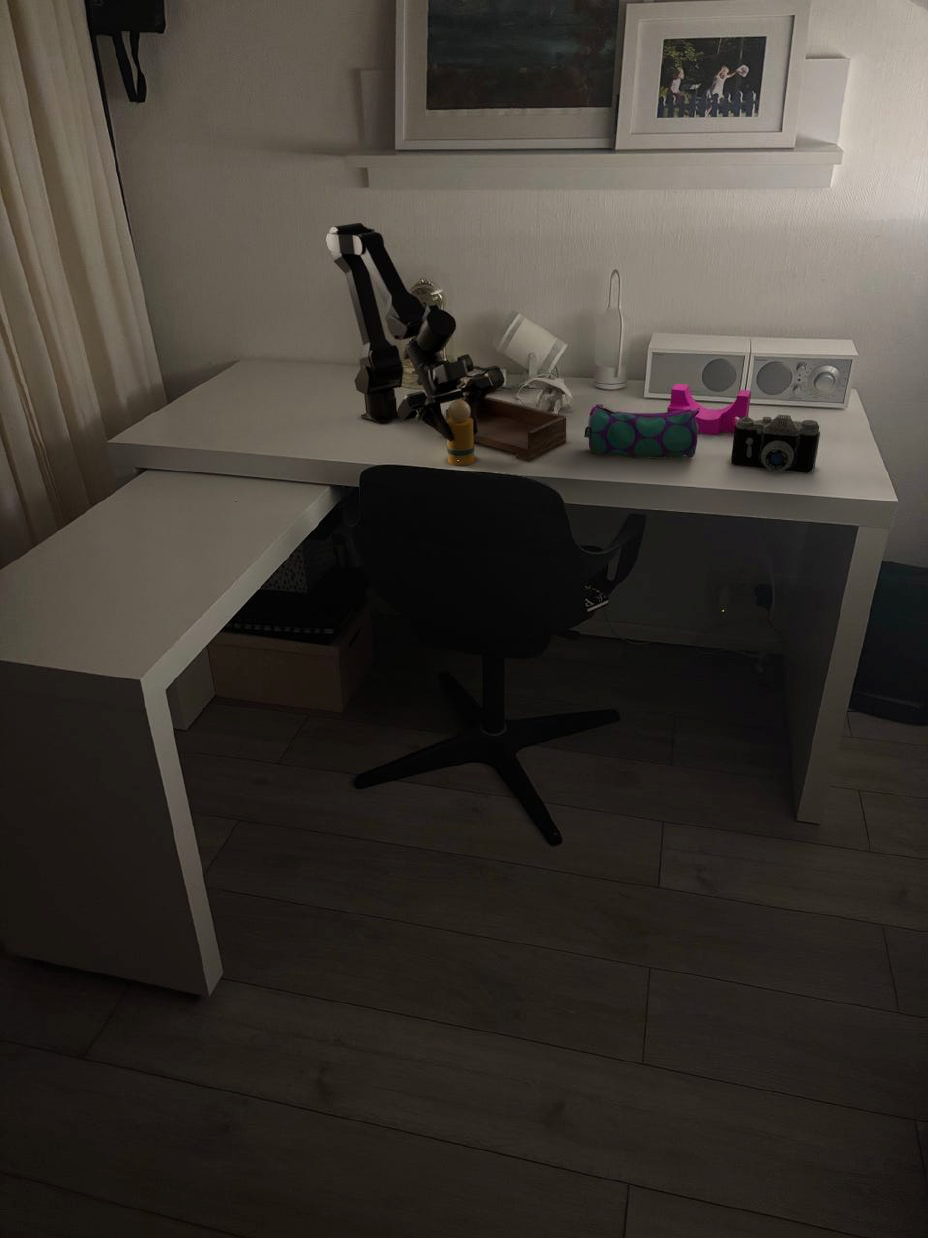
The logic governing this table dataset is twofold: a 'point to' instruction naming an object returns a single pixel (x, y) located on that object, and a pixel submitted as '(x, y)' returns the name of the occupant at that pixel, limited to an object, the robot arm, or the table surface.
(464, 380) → the toy figure
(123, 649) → the table surface
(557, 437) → the wooden desk tray
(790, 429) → the camera
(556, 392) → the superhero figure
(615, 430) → the pencil case
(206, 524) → the table surface
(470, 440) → the doll
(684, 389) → the toy block
